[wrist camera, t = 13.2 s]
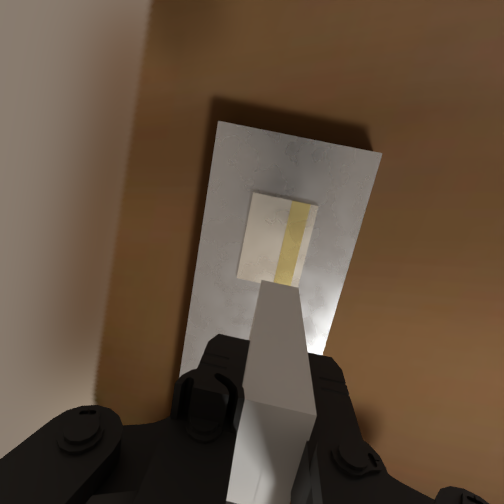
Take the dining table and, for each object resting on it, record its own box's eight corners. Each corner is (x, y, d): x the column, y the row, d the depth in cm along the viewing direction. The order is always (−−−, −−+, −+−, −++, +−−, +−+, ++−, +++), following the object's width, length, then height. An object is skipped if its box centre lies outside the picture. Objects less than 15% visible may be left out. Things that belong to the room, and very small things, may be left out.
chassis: (223, 124, 24) (206, 111, 19) (374, 154, 24) (402, 150, 18) (171, 453, 34) (149, 510, 28) (279, 479, 33) (279, 541, 28)
